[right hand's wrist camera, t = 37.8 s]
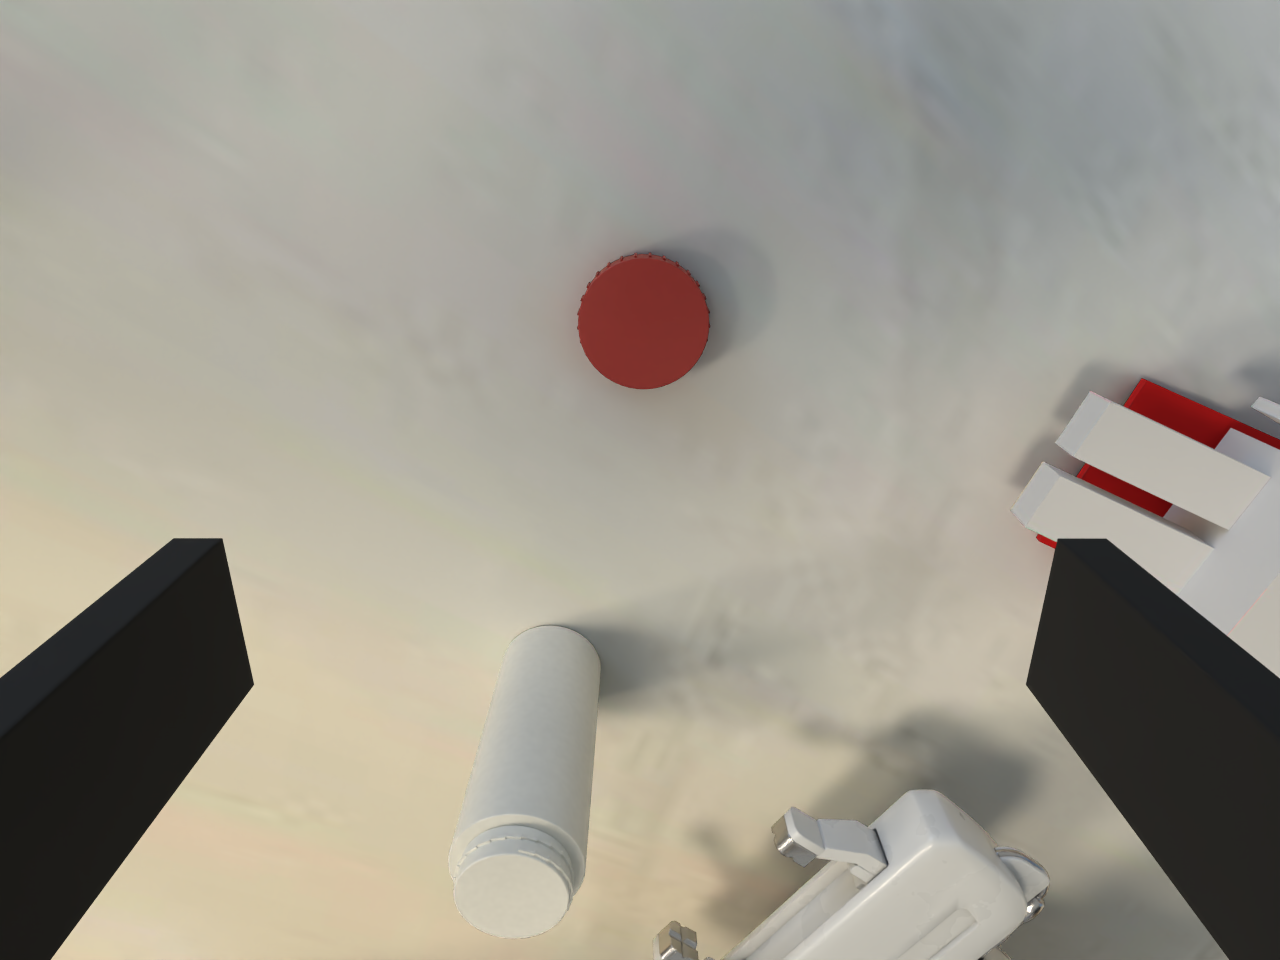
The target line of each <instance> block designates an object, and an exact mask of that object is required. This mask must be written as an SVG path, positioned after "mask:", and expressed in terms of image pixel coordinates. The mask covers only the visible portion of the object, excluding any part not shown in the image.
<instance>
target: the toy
mask: <svg viewBox="0 0 1280 960" xmlns="http://www.w3.org/2000/svg"><path fill="white" fill-rule="evenodd" d="M1251 407H1252V408H1253V409H1255V410H1257V411H1258V412H1260V413H1262V414H1264V415H1265V416H1267V417H1269V418H1270V419H1272V420H1274V421H1275V422H1277V423H1279V424H1280V405H1279V404H1277V403H1275V402H1272V401H1270V400H1267V399H1265V398H1262V397H1259V398H1258V399H1257V400H1256V401H1255V402H1254V403H1253V405H1252V406H1251ZM1055 443H1056V444H1057V445H1058V446H1060V447H1061V448H1062V449H1064V450H1065V451H1066V452H1067V453H1069V454H1070V455H1071V456H1073V457H1075V458H1077V459H1079V460H1081V461H1083V462H1085V465H1084V466H1083V468H1082V469H1081V471H1080V472H1079V474H1078V475H1077V477H1075V476H1073V475H1071V474H1069V473H1067V472H1065V471H1063V470H1060V469H1058V468H1056V467H1054V466H1052V465H1050V464H1048V463H1046V462H1042V463H1041V465H1040V466H1039V468H1038V469H1037V471H1036V472H1035V474H1034V475H1033V477H1032V478H1031V480H1030V481H1029V483H1028V484H1027V486H1026V487H1025V488H1024V490H1023V491H1022V493H1021V494H1020V496H1019V497H1018V499H1017V500H1016V502H1015V503H1014V505H1013V506H1012V508H1011V509H1010V511H1011V512H1012V513H1013V514H1014V515H1015V516H1016V518H1017V519H1018V520H1019V521H1020V522H1021V523H1022V525H1023V526H1024V527H1025V528H1028V529H1030V530H1032V531H1034V532H1036V533H1038V535H1037V537H1036V538H1037V539H1038V540H1039V541H1040V542H1042V543H1044V544H1046V545H1048V546H1051V547H1053V548H1056V544H1057V539H1058V538H1106V539H1108V540H1109V541H1110V542H1111V543H1113V544H1114V545H1115V546H1116V547H1118V548H1119V549H1120V550H1121V551H1123V552H1124V553H1125V554H1126V555H1128V556H1129V557H1130V558H1131V559H1133V560H1134V561H1135V562H1136V563H1137V564H1139V565H1140V566H1141V567H1142V568H1144V569H1145V570H1146V571H1147V572H1149V573H1150V574H1151V575H1152V576H1154V577H1155V578H1156V579H1157V580H1159V581H1160V582H1161V583H1162V584H1164V585H1165V586H1166V587H1167V588H1168V589H1170V590H1171V591H1172V592H1173V593H1175V594H1176V595H1177V596H1178V597H1180V598H1181V599H1182V600H1183V601H1185V602H1186V603H1187V604H1188V605H1190V606H1191V607H1192V608H1193V609H1195V610H1196V611H1197V612H1198V613H1200V614H1201V615H1202V616H1203V617H1204V618H1206V619H1207V620H1208V621H1209V622H1211V623H1212V624H1213V625H1214V626H1216V627H1217V628H1218V629H1219V630H1221V631H1222V632H1223V633H1224V634H1226V635H1227V636H1228V637H1229V638H1231V639H1232V640H1233V641H1234V642H1236V643H1237V644H1238V645H1239V646H1240V647H1242V648H1243V649H1244V650H1245V651H1247V652H1248V653H1249V654H1250V655H1252V656H1253V657H1254V658H1255V659H1257V660H1258V661H1259V662H1260V663H1262V664H1263V665H1264V666H1265V667H1267V668H1268V669H1269V670H1270V671H1272V672H1273V673H1274V674H1275V675H1276V676H1278V677H1279V678H1280V440H1279V439H1277V438H1275V437H1272V436H1270V435H1268V434H1266V433H1263V432H1261V431H1259V430H1257V429H1254V428H1252V427H1250V426H1248V425H1246V424H1243V423H1241V422H1239V421H1237V420H1234V419H1232V418H1230V417H1228V416H1225V415H1223V414H1221V413H1219V412H1217V411H1214V410H1212V409H1210V408H1208V407H1205V406H1203V405H1201V404H1199V403H1196V402H1194V401H1192V400H1190V399H1188V398H1185V397H1183V396H1181V395H1179V394H1176V393H1174V392H1172V391H1170V390H1167V389H1165V388H1163V387H1161V386H1159V385H1156V384H1154V383H1152V382H1150V381H1147V380H1145V379H1143V378H1142V379H1141V380H1140V382H1139V383H1138V385H1137V386H1136V388H1135V389H1134V391H1133V392H1132V394H1131V395H1130V397H1129V398H1128V400H1127V401H1126V403H1125V404H1124V406H1122V405H1120V404H1117V403H1115V402H1113V401H1111V400H1109V399H1107V398H1105V397H1103V396H1101V395H1098V394H1096V393H1094V392H1092V391H1090V392H1089V393H1088V395H1087V396H1086V398H1085V399H1084V401H1083V402H1082V404H1081V405H1080V407H1079V408H1078V410H1077V411H1076V413H1075V414H1074V416H1073V417H1072V419H1071V420H1070V422H1069V423H1068V425H1067V426H1066V428H1065V429H1064V431H1063V432H1062V434H1061V435H1060V436H1059V438H1058V439H1057V441H1056V442H1055Z"/></svg>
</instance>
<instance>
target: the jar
mask: <svg viewBox="0 0 1280 960" xmlns="http://www.w3.org/2000/svg"><path fill="white" fill-rule="evenodd" d="M600 674H601V664H600V659H599V656H598V654H597V652H596V650H595V648H594V647H593V646H592V644H591V643H590V642H589V641H588V640H587V639H586V638H585V637H583V636H582V635H580V634H579V633H577V632H575V631H573V630H571V629H568V628H565V627H560V626H539V627H535V628H532V629H529V630H526V631H525V632H523V633H521V634H520V635H518V636H517V637H516V638H515V639H513V640H512V641H511V643H510V644H509V645H508V647H507V649H506V650H505V653H504V656H503V659H502V663H501V667H500V670H499V674H498V677H497V681H496V685H495V688H494V692H493V695H492V699H491V703H490V706H489V710H488V714H487V717H486V721H485V724H484V728H483V732H482V735H481V739H480V742H479V746H478V750H477V753H476V757H475V761H474V764H473V768H472V771H471V775H470V779H469V782H468V786H467V789H466V793H465V797H464V800H463V804H462V807H461V811H460V815H459V818H458V822H457V826H456V829H455V833H454V836H453V840H452V844H451V847H450V851H449V856H448V867H449V872H450V875H451V878H452V880H453V882H454V890H453V896H454V902H455V905H456V907H457V909H458V911H459V913H460V914H461V916H462V917H463V918H464V919H465V920H466V921H467V922H468V923H469V924H470V925H472V926H473V927H475V928H476V929H478V930H480V931H482V932H484V933H487V934H489V935H492V936H496V937H501V938H509V939H521V938H529V937H533V936H536V935H540V934H542V933H544V932H546V931H548V930H550V929H551V928H553V927H554V926H555V925H557V924H558V923H559V922H560V921H561V919H562V918H563V917H564V915H565V913H566V912H567V911H568V910H569V907H570V905H571V902H572V900H573V896H574V895H575V894H576V892H577V891H578V890H579V888H580V886H581V884H582V882H583V879H584V876H585V868H586V855H587V842H588V830H589V817H590V804H591V791H592V778H593V765H594V752H595V739H596V726H597V713H598V700H599V687H600Z"/></svg>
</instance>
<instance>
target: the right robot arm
mask: <svg viewBox="0 0 1280 960" xmlns="http://www.w3.org/2000/svg"><path fill="white" fill-rule="evenodd" d="M253 685H254V682H253V678H252V673H251V669H250V664H249V659H248V655H247V650H246V645H245V641H244V636H243V632H242V627H241V622H240V618H239V613H238V608H237V604H236V599H235V595H234V590H233V585H232V581H231V576H230V572H229V567H228V562H227V558H226V553H225V548H224V544H223V539H222V538H174V539H172V540H171V541H170V542H169V543H167V544H166V545H165V546H164V547H162V548H161V549H160V550H159V551H157V552H156V553H155V554H154V555H152V556H151V557H150V558H149V559H147V560H146V561H145V562H144V563H143V564H141V565H140V566H139V567H138V568H136V569H135V570H134V571H133V572H131V573H130V574H129V575H128V576H126V577H125V578H124V579H123V580H121V581H120V582H119V583H118V584H116V585H115V586H114V587H113V588H112V589H110V590H109V591H108V592H107V593H105V594H104V595H103V596H102V597H100V598H99V599H98V600H97V601H95V602H94V603H93V604H92V605H90V606H89V607H88V608H87V609H85V610H84V611H83V612H82V613H80V614H79V615H78V616H77V617H76V618H74V619H73V620H72V621H71V622H69V623H68V624H67V625H66V626H64V627H63V628H62V629H61V630H59V631H58V632H57V633H56V634H54V635H53V636H52V637H51V638H49V639H48V640H47V641H46V642H44V643H43V644H42V645H41V646H40V647H38V648H37V649H36V650H35V651H33V652H32V653H31V654H30V655H28V656H27V657H26V658H25V659H23V660H22V661H21V662H20V663H18V664H17V665H16V666H15V667H13V668H12V669H11V670H10V671H8V672H7V673H6V674H5V675H4V676H2V677H1V678H0V960H51V958H52V957H53V956H54V954H55V953H56V952H57V950H58V949H59V948H60V946H61V945H62V944H63V942H64V941H65V939H66V938H67V937H68V935H69V934H70V933H71V931H72V930H73V929H74V927H75V926H76V925H77V923H78V922H79V921H80V919H81V918H82V917H83V915H84V914H85V912H86V911H87V910H88V908H89V907H90V906H91V904H92V903H93V902H94V900H95V899H96V898H97V896H98V895H99V894H100V892H101V891H102V889H103V888H104V887H105V885H106V884H107V883H108V881H109V880H110V879H111V877H112V876H113V875H114V873H115V872H116V871H117V869H118V868H119V866H120V865H121V864H122V862H123V861H124V860H125V858H126V857H127V856H128V854H129V853H130V852H131V850H132V849H133V848H134V846H135V845H136V843H137V842H138V841H139V839H140V838H141V837H142V835H143V834H144V833H145V831H146V830H147V829H148V827H149V826H150V825H151V823H152V822H153V821H154V819H155V818H156V816H157V815H158V814H159V812H160V811H161V810H162V808H163V807H164V806H165V804H166V803H167V802H168V800H169V799H170V798H171V796H172V795H173V793H174V792H175V791H176V789H177V788H178V787H179V785H180V784H181V783H182V781H183V780H184V779H185V777H186V776H187V775H188V773H189V772H190V770H191V769H192V768H193V766H194V765H195V764H196V762H197V761H198V760H199V758H200V757H201V756H202V754H203V753H204V752H205V750H206V749H207V747H208V746H209V745H210V743H211V742H212V741H213V739H214V738H215V737H216V735H217V734H218V733H219V731H220V730H221V729H222V727H223V726H224V724H225V723H226V722H227V720H228V719H229V718H230V716H231V715H232V714H233V712H234V711H235V710H236V708H237V707H238V706H239V704H240V703H241V702H242V700H243V699H244V697H245V696H246V695H247V693H248V692H249V691H250V689H251V688H252V687H253ZM1026 685H1027V687H1028V688H1029V689H1030V691H1031V692H1032V693H1033V695H1034V696H1035V697H1036V699H1037V700H1038V702H1039V703H1040V704H1041V706H1042V707H1043V708H1044V710H1045V711H1046V712H1047V714H1048V715H1049V716H1050V718H1051V719H1052V720H1053V722H1054V723H1055V725H1056V726H1057V727H1058V729H1059V730H1060V731H1061V733H1062V734H1063V735H1064V737H1065V738H1066V739H1067V741H1068V742H1069V743H1070V745H1071V746H1072V747H1073V749H1074V750H1075V752H1076V753H1077V754H1078V756H1079V757H1080V758H1081V760H1082V761H1083V762H1084V764H1085V765H1086V766H1087V768H1088V769H1089V770H1090V772H1091V773H1092V775H1093V776H1094V777H1095V779H1096V780H1097V781H1098V783H1099V784H1100V785H1101V787H1102V788H1103V789H1104V791H1105V792H1106V793H1107V795H1108V796H1109V798H1110V799H1111V800H1112V802H1113V803H1114V804H1115V806H1116V807H1117V808H1118V810H1119V811H1120V812H1121V814H1122V815H1123V816H1124V818H1125V819H1126V821H1127V822H1128V823H1129V825H1130V826H1131V827H1132V829H1133V830H1134V831H1135V833H1136V834H1137V835H1138V837H1139V838H1140V839H1141V841H1142V842H1143V843H1144V845H1145V846H1146V848H1147V849H1148V850H1149V852H1150V853H1151V854H1152V856H1153V857H1154V858H1155V860H1156V861H1157V862H1158V864H1159V865H1160V866H1161V868H1162V869H1163V871H1164V872H1165V873H1166V875H1167V876H1168V877H1169V879H1170V880H1171V881H1172V883H1173V884H1174V885H1175V887H1176V888H1177V889H1178V891H1179V892H1180V894H1181V895H1182V896H1183V898H1184V899H1185V900H1186V902H1187V903H1188V904H1189V906H1190V907H1191V908H1192V910H1193V911H1194V912H1195V914H1196V915H1197V917H1198V918H1199V919H1200V921H1201V922H1202V923H1203V925H1204V926H1205V927H1206V929H1207V930H1208V931H1209V933H1210V934H1211V935H1212V937H1213V938H1214V940H1215V941H1216V942H1217V944H1218V945H1219V946H1220V948H1221V949H1222V950H1223V952H1224V953H1225V954H1226V956H1227V957H1228V958H1229V960H1280V678H1279V677H1278V676H1276V675H1275V674H1274V673H1273V672H1272V671H1270V670H1269V669H1268V668H1267V667H1265V666H1264V665H1263V664H1262V663H1260V662H1259V661H1258V660H1257V659H1255V658H1254V657H1253V656H1252V655H1250V654H1249V653H1248V652H1247V651H1245V650H1244V649H1243V648H1242V647H1240V646H1239V645H1238V644H1237V643H1236V642H1234V641H1233V640H1232V639H1231V638H1229V637H1228V636H1227V635H1226V634H1224V633H1223V632H1222V631H1221V630H1219V629H1218V628H1217V627H1216V626H1214V625H1213V624H1212V623H1211V622H1209V621H1208V620H1207V619H1206V618H1204V617H1203V616H1202V615H1201V614H1200V613H1198V612H1197V611H1196V610H1195V609H1193V608H1192V607H1191V606H1190V605H1188V604H1187V603H1186V602H1185V601H1183V600H1182V599H1181V598H1180V597H1178V596H1177V595H1176V594H1175V593H1173V592H1172V591H1171V590H1170V589H1168V588H1167V587H1166V586H1165V585H1164V584H1162V583H1161V582H1160V581H1159V580H1157V579H1156V578H1155V577H1154V576H1152V575H1151V574H1150V573H1149V572H1147V571H1146V570H1145V569H1144V568H1142V567H1141V566H1140V565H1139V564H1137V563H1136V562H1135V561H1134V560H1133V559H1131V558H1130V557H1129V556H1128V555H1126V554H1125V553H1124V552H1123V551H1121V550H1120V549H1119V548H1118V547H1116V546H1115V545H1114V544H1113V543H1111V542H1110V541H1109V540H1108V539H1106V538H1058V539H1057V544H1056V548H1055V553H1054V558H1053V562H1052V567H1051V572H1050V576H1049V581H1048V585H1047V590H1046V595H1045V599H1044V604H1043V608H1042V613H1041V618H1040V622H1039V627H1038V632H1037V636H1036V641H1035V645H1034V650H1033V655H1032V659H1031V664H1030V669H1029V673H1028V678H1027V682H1026Z"/></svg>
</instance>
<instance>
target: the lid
mask: <svg viewBox="0 0 1280 960" xmlns="http://www.w3.org/2000/svg"><path fill="white" fill-rule="evenodd" d="M699 286H700V285H699V283H698V281H696V282H695V280H694V279H693V278H692V276H691V274H690V272H689V270H687V271H686V270H685V269H683V268H682V267H681V266H680V265H679V263H678V262H677V261H676V262H673V261H671V260H669V259H667V258H666V257H665V256H664V255H663V257H661V256H657V255H651V253H649V254H638V255H637V253H634V255H631V256H627V257H623V256H621V257H620V259H618V260H616V261H614V262H613V263H610V262H609V263H608V264H607V266H606V267H605V268H604V269H602V270H601V271H600V272H599V271H598V272H597V273H596V277H595V278H594V279H593V281H592V282H591V283H590V282H589V283H588V285H587V288H588V289H587V291H586V293H585V295H583V296H582V298H581V301H582V303H581V307H580V309H579V311H578V314H577V315H579V318H578V327H577V329H579V337H580V343H581V344H582V347H583V349H584V352H585V354H586V356H587V357H588V359H589V360H590V362H591V363H592V364H593V366H594V367H595V368H596V369H597V370H598V371H599V372H600V373H601V374H602V375H604V376H605V377H606V378H608V379H610V380H611V381H613V382H615V383H617V384H620V385H622V386H625V387H629V388H635V389H653V388H658V387H662V386H665V385H668V384H670V383H672V382H674V381H676V380H678V379H679V378H681V377H682V376H684V375H685V374H686V373H687V372H688V371H689V370H690V369H691V368H692V367H693V366H694V365H695V364H696V362H697V361H698V359H699V358H700V356H701V355H702V352H703V350H704V348H705V345H706V342H707V341H708V339H707V338H708V333H709V328H710V324H709V313H710V311H709V309H708V307H707V305H706V302H705V300H706V297H705V295H704V293H703V294H702V292H701V290H700V288H699Z"/></svg>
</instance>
